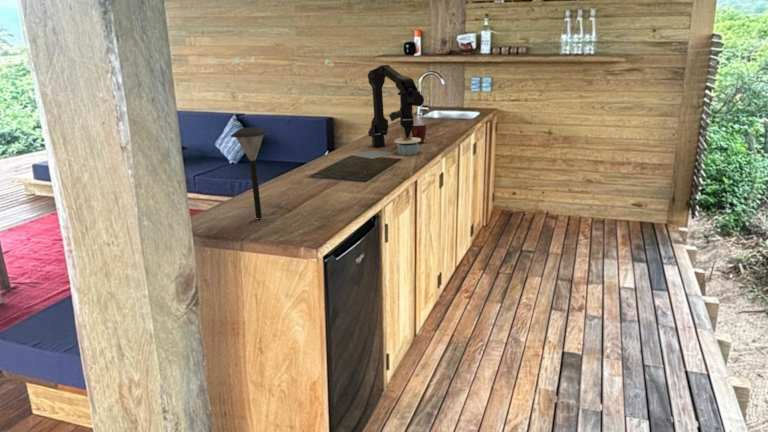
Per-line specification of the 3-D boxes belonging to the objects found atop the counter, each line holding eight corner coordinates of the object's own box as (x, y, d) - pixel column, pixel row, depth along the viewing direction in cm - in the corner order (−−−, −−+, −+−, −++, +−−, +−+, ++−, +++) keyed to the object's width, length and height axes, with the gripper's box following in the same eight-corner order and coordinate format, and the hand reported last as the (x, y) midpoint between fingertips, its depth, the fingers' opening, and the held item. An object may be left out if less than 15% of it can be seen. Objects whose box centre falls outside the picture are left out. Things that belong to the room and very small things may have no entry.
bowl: (393, 154, 295) (392, 144, 294) (408, 151, 302) (408, 141, 300) (407, 156, 288) (407, 146, 286) (422, 153, 295) (422, 143, 293)
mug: (424, 145, 316) (423, 126, 313) (409, 145, 318) (408, 126, 315) (427, 141, 325) (427, 123, 323) (413, 141, 327) (412, 123, 325)
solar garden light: (278, 222, 194) (269, 130, 185) (239, 226, 192) (228, 133, 183) (277, 212, 205) (268, 124, 197) (240, 216, 203) (229, 127, 194)
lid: (388, 141, 293) (388, 132, 292) (407, 138, 302) (407, 128, 300) (407, 144, 284) (407, 134, 283) (426, 140, 293) (426, 130, 291)
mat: (350, 156, 296) (350, 154, 296) (374, 151, 306) (374, 149, 306) (372, 159, 285) (372, 158, 285) (396, 154, 295) (396, 153, 295)
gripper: (390, 103, 297) (391, 134, 302) (389, 107, 279) (390, 141, 284) (412, 102, 297) (413, 133, 301) (413, 107, 279) (414, 140, 283)
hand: (407, 137), depth 292 cm, fingers open, 4 cm apart
